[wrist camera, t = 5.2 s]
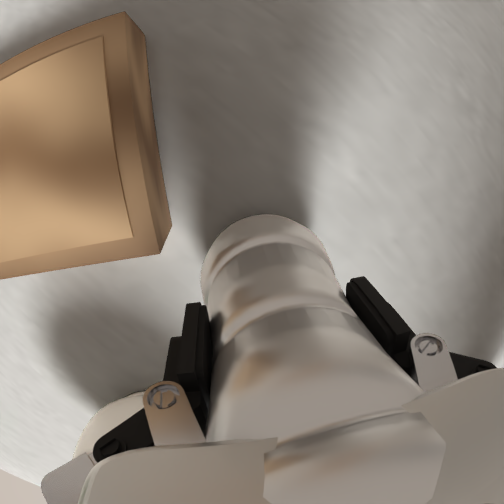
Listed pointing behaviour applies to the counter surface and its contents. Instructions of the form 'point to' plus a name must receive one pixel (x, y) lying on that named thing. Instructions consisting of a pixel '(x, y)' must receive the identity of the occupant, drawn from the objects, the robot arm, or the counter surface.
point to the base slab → (79, 152)
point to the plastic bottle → (308, 375)
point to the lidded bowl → (108, 421)
